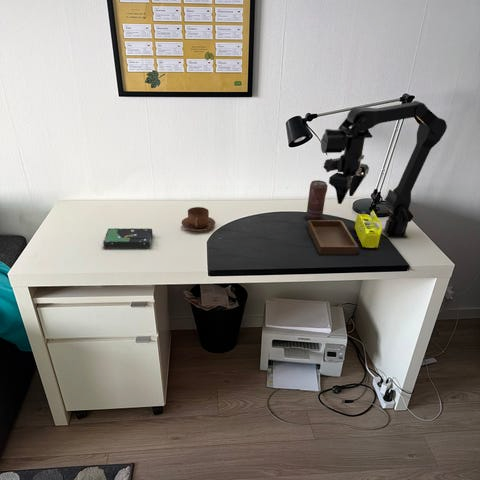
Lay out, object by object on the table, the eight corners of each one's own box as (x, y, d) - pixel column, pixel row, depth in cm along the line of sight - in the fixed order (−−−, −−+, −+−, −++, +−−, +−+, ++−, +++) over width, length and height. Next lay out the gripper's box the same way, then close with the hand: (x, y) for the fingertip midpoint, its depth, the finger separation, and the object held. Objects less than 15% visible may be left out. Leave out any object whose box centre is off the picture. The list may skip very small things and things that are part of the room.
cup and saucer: (218, 232, 154) (218, 216, 151) (185, 235, 151) (184, 219, 148) (211, 219, 164) (210, 203, 160) (179, 222, 161) (178, 205, 157)
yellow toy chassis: (378, 250, 147) (384, 227, 142) (361, 249, 147) (366, 226, 142) (368, 230, 160) (373, 208, 155) (353, 229, 160) (357, 207, 155)
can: (322, 222, 164) (327, 186, 156) (305, 221, 165) (310, 184, 157) (322, 216, 169) (328, 180, 161) (306, 214, 170) (311, 179, 162)
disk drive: (152, 235, 151) (108, 235, 150) (152, 228, 149) (107, 227, 148) (150, 249, 143) (103, 249, 141) (149, 241, 141) (102, 241, 140)
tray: (340, 227, 162) (341, 220, 160) (357, 254, 144) (358, 246, 143) (307, 227, 161) (307, 220, 159) (319, 254, 143) (320, 246, 142)
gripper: (342, 141, 148) (335, 187, 158) (317, 153, 136) (311, 202, 145) (373, 147, 143) (364, 194, 152) (350, 160, 131) (342, 210, 140)
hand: (345, 199), depth 148 cm, fingers open, 9 cm apart
